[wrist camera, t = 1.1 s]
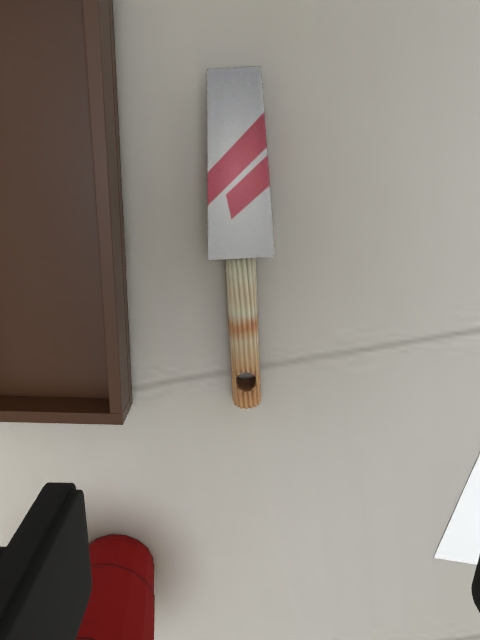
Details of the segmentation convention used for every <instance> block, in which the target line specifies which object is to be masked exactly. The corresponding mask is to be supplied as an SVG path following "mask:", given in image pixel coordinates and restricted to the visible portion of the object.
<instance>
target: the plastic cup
mask: <svg viewBox="0 0 480 640" xmlns="http://www.w3.org/2000/svg"><path fill="white" fill-rule="evenodd" d="M89 553H90V563H91V573H92V590H91V595H90V599H89V602H88V605H87V608H86V611H85V614H84V617H83V619H82V622H81V625H80V628H79V631H78V634H77V637H76V640H154V564H153V557H152V555H151V554H150V552H149V550H148V548H147V547H146V546H144V545H143V544H142V543H141V542H139V541H138V540H136V539H133V538H130V537H128V536H125V535H108V536H104V537H101V538H98V539H96V540H95V541H94V542H92V543H91V544H90V545H89Z"/></svg>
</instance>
